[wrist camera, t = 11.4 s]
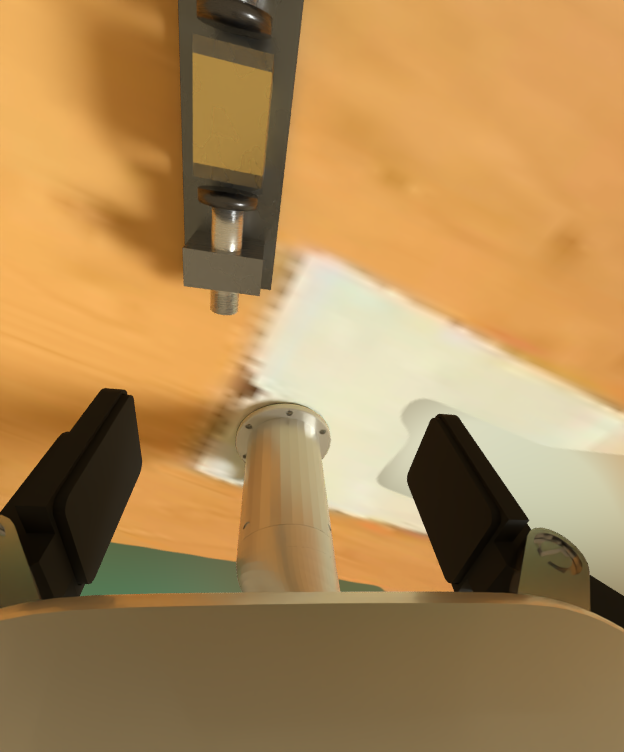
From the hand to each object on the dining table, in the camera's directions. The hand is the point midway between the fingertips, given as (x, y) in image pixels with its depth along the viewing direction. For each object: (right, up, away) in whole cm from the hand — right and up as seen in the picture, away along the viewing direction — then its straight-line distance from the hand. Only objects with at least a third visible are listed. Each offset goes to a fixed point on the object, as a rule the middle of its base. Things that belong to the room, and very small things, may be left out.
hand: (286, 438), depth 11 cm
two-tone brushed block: (-5, +21, +15) cm, 27 cm away
